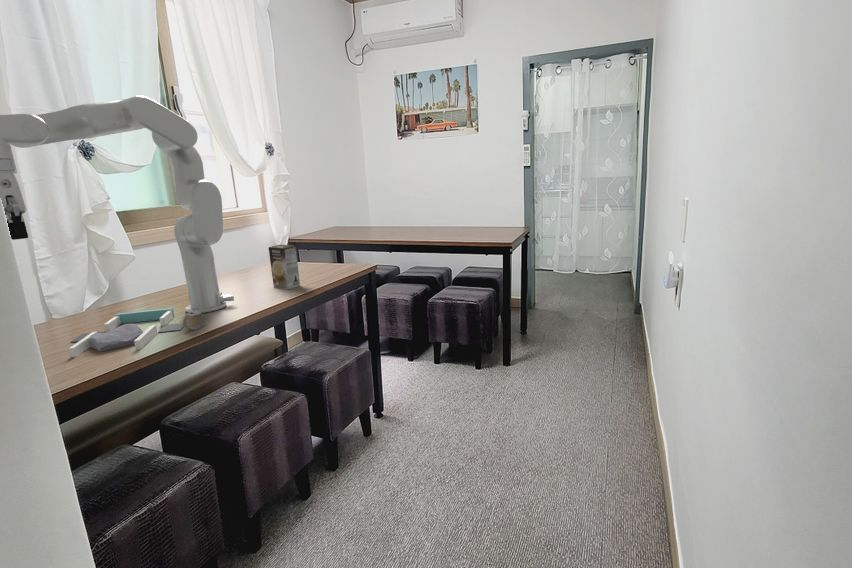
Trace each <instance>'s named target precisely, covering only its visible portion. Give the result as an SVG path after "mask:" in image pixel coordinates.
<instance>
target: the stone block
mask: <svg viewBox="0 0 852 568" xmlns="http://www.w3.org/2000/svg"><path fill="white" fill-rule="evenodd" d="M143 332H144V331H143V329H142V328H140V327H139V325H138V324H134V323H124V324H122V325H119V326H117V327H116V328H114V329H113V330H111V331H109V332H105V333H95V334H93V335H91V336H90V338H89V345H90V347H89V348H91V349H94V350H97V352H100V353H101V352H105V351H110V350H115V349H118V348H123V347H128V346H133V345H135V343H134V340H136V339H137V338H138V337H139V336H140V335H141V334H142V333H143Z"/></svg>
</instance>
